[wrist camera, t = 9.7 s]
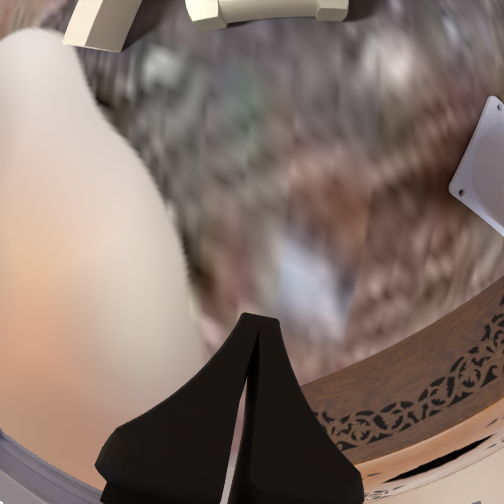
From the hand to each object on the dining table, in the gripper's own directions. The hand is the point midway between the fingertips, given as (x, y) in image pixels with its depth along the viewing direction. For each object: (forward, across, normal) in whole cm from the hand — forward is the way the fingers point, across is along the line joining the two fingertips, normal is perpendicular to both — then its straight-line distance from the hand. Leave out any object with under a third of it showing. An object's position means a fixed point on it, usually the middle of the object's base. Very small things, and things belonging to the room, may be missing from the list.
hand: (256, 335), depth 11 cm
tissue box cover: (+10, -18, +12) cm, 24 cm away
